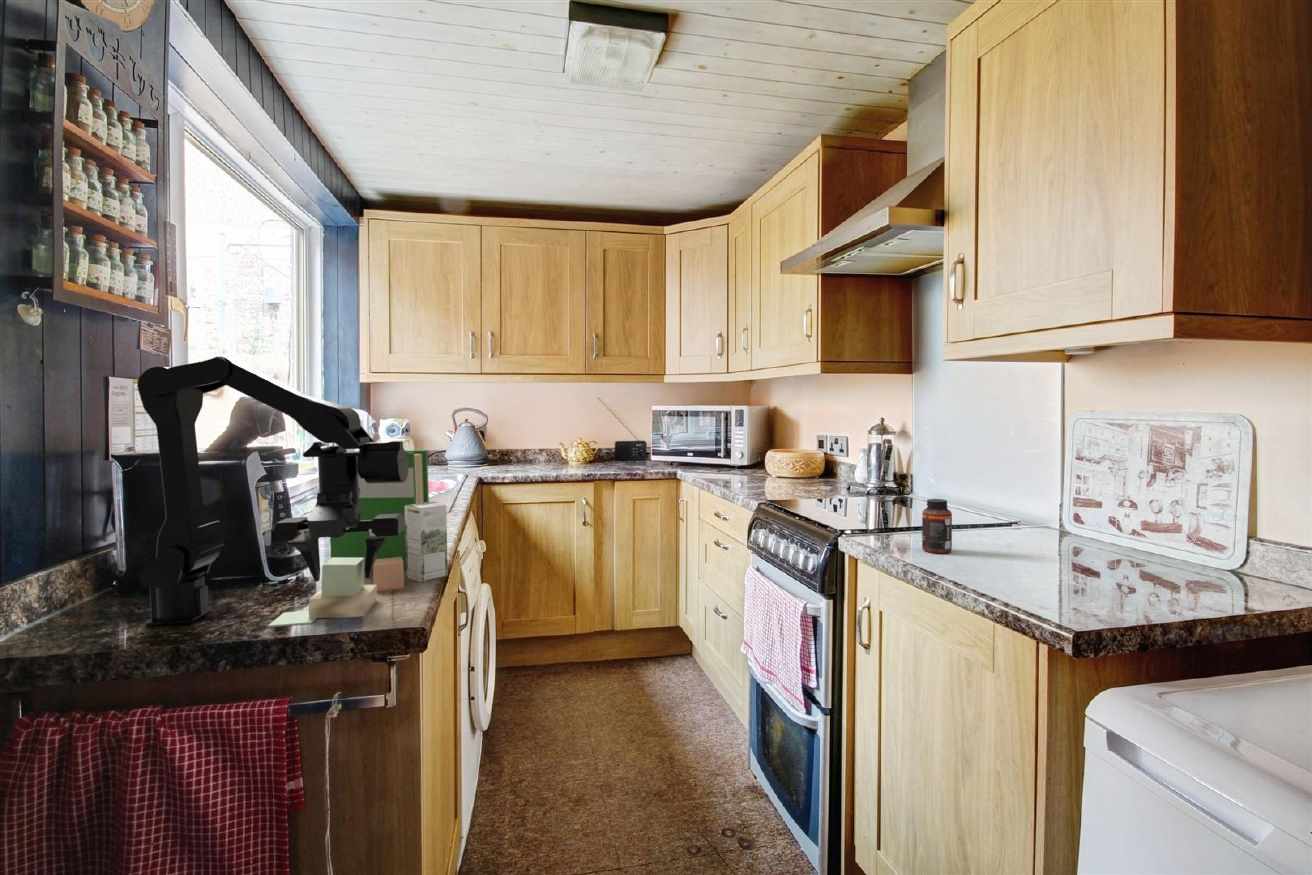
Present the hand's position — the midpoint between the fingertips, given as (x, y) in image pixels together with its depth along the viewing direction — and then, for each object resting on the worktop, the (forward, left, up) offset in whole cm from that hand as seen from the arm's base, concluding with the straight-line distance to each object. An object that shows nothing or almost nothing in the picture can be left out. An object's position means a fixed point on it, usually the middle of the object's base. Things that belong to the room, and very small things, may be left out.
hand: (342, 579), depth 102 cm
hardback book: (-1, +30, -5) cm, 31 cm away
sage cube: (0, 0, -2) cm, 2 cm away
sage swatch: (-6, -3, -5) cm, 8 cm away
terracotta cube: (+4, +13, -5) cm, 15 cm away
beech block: (0, 0, -5) cm, 5 cm away
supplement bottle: (+117, +14, -5) cm, 118 cm away
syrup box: (+10, +18, -5) cm, 21 cm away
